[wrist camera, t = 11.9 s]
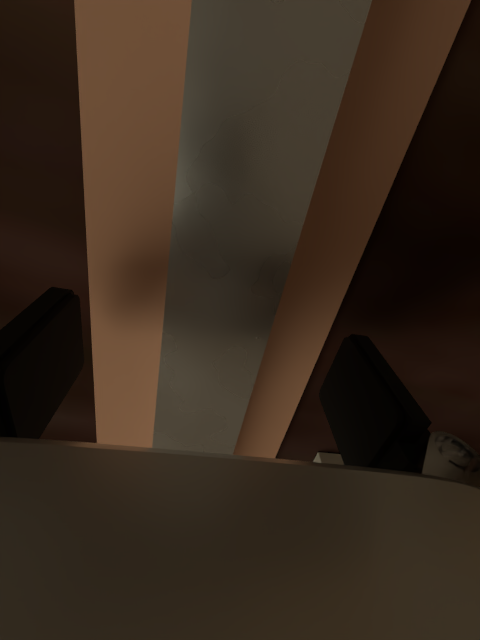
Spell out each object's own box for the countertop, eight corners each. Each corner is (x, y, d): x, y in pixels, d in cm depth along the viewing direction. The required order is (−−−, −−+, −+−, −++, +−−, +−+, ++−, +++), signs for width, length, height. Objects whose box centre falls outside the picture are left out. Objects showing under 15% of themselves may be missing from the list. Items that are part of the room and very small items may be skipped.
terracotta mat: (64, -588, 5) (36, -712, 4) (579, -300, 6) (623, -355, 5) (104, 495, 20) (100, 507, 19) (248, 504, 22) (249, 516, 21)
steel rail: (242, -322, 5) (260, -786, 3) (399, -248, 6) (551, -582, 3) (154, 494, 19) (142, 553, 16) (204, 497, 19) (201, 556, 17)
